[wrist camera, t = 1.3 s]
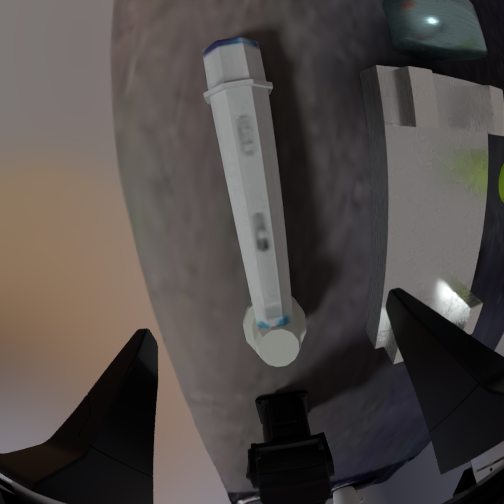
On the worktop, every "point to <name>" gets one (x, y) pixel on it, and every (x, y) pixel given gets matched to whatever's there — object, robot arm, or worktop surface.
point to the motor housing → (428, 165)
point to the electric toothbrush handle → (254, 194)
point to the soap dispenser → (501, 183)
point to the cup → (347, 496)
